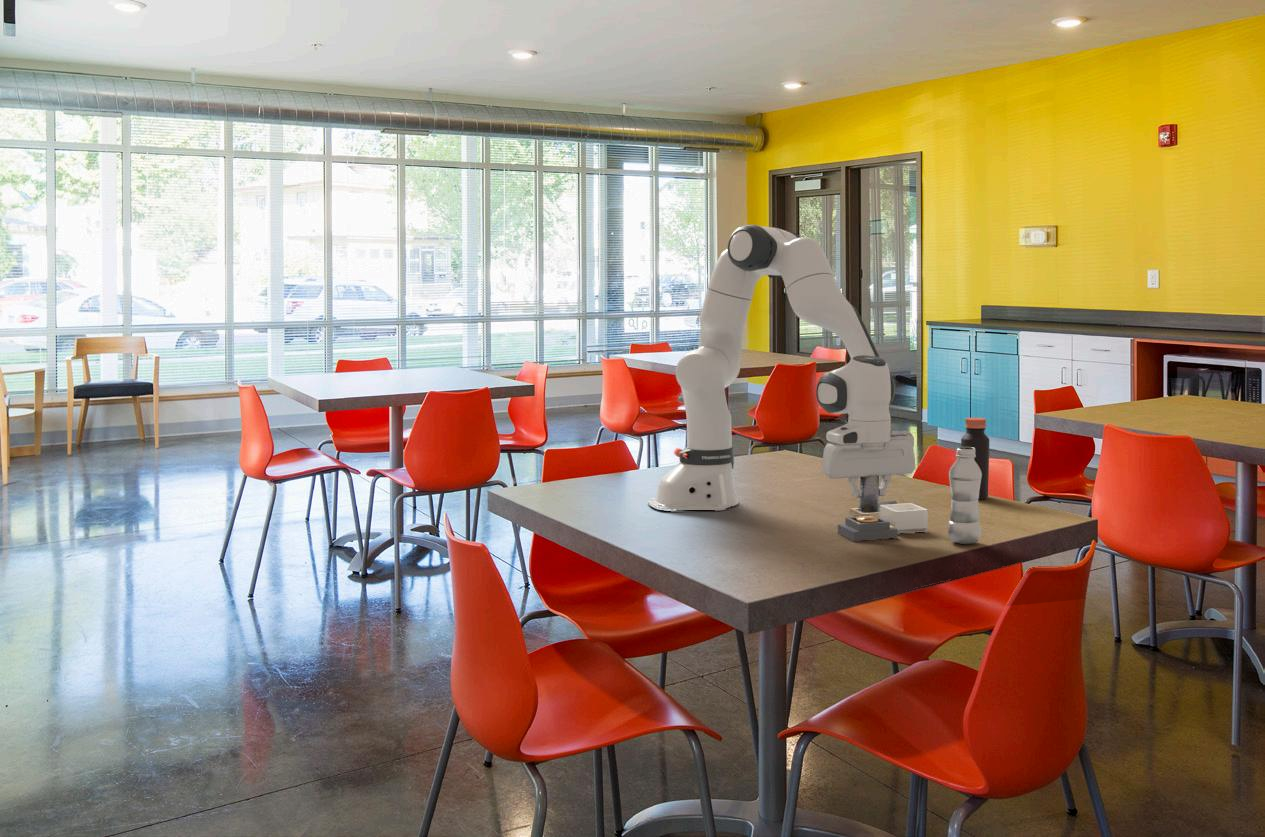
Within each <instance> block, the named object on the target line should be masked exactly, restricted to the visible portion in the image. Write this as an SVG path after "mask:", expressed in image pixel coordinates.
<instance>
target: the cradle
mask: <svg viewBox="0 0 1265 837" xmlns="http://www.w3.org/2000/svg"><path fill="white" fill-rule="evenodd" d="M875 517H877V516H875ZM856 519H857V517H850V516H848V517H847V516H846V517H845V521H844V522H845V523H838V524H837V534H838V533H839V534H838V535H840V534H841V535H840V536H842V535H843V537H844V536H845V537H844V538H846V539H848V540H850V539H851V540H850V541H852V542H854V541H855V542H863V541H862V540H868V541H878V540H877V539H882V540H890V539H889V538H895V539H898V534H897V529H896V528H894V527H893V526H891V525H890V522H888V521H886V520H884V519H882V518H880V517H878V522H874V523H859V522H857V521H856Z"/></svg>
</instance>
